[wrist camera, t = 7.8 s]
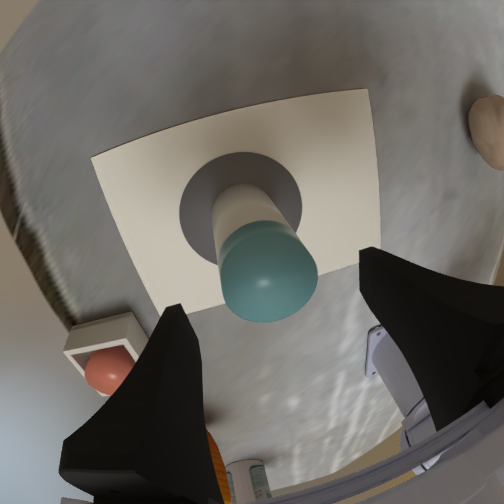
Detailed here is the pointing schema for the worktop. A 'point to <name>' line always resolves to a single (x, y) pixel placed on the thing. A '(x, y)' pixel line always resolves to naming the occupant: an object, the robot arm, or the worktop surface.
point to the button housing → (104, 338)
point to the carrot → (219, 470)
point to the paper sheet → (245, 172)
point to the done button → (108, 368)
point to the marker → (259, 256)
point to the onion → (488, 129)
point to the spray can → (247, 481)
